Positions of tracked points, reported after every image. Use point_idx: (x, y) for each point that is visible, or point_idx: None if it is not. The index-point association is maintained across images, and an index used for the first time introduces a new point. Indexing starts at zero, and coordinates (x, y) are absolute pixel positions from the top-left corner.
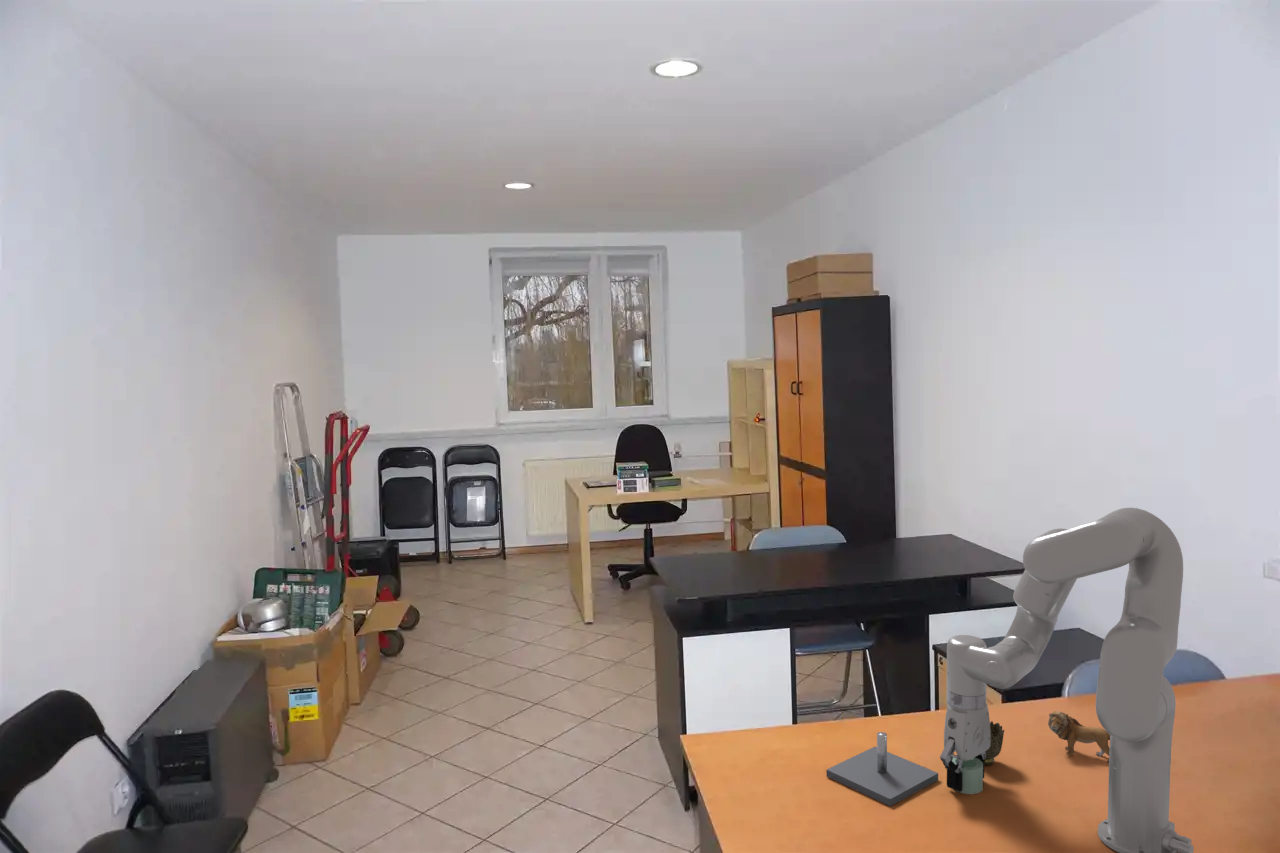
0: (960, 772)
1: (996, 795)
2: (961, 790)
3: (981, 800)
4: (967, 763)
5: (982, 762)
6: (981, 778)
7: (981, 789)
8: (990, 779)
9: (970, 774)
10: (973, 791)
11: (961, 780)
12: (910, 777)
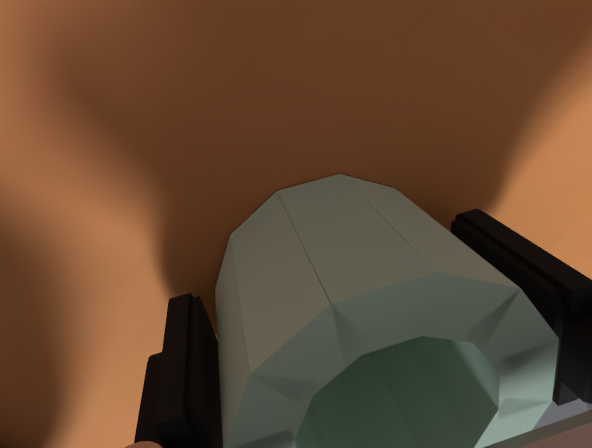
0: (588, 295)
1: (232, 83)
2: (472, 211)
3: (397, 80)
4: (301, 430)
5: (248, 381)
6: (316, 231)
7: (294, 191)
8: (94, 293)
9: (482, 259)
10: (375, 188)
11: (528, 247)
12: (580, 409)
